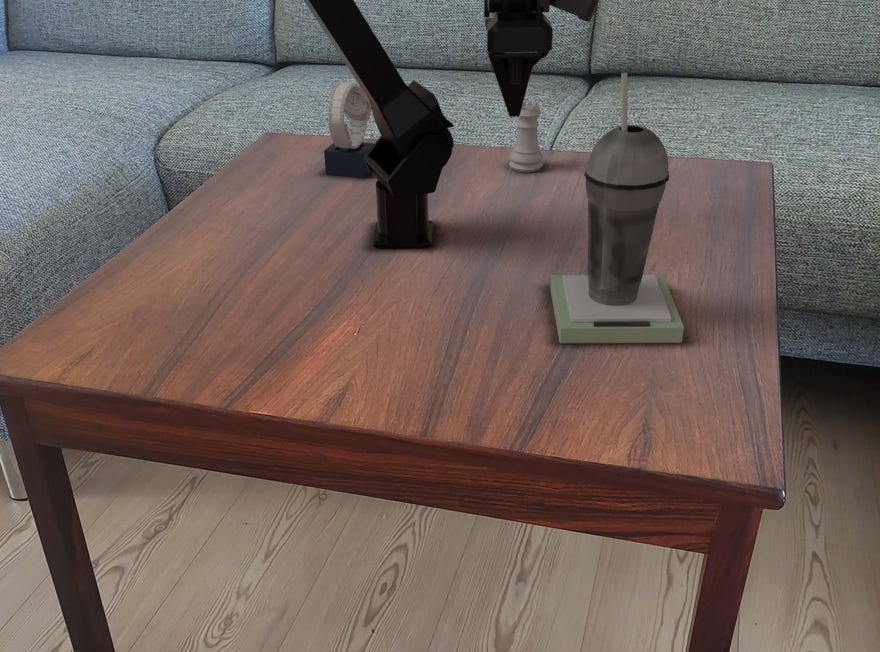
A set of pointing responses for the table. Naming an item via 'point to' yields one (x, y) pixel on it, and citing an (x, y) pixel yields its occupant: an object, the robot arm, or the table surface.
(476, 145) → the table surface
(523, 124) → the rook chess piece
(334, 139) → the watch
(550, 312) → the table surface
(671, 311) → the scale
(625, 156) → the beverage cup
